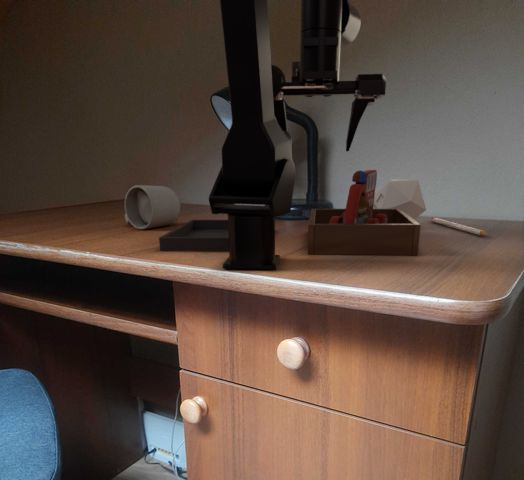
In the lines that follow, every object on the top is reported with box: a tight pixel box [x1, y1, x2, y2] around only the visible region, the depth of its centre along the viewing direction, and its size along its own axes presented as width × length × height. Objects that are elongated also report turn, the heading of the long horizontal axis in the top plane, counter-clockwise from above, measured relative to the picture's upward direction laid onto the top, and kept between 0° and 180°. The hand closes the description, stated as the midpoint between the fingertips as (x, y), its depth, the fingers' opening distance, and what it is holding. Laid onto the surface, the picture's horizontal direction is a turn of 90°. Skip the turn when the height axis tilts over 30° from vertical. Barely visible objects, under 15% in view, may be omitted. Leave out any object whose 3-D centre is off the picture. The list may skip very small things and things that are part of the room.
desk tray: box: [158, 219, 229, 252], centre depth 79 cm, size 19×13×2 cm
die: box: [373, 178, 427, 221], centre depth 88 cm, size 8×9×10 cm
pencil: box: [430, 217, 488, 236], centre depth 86 cm, size 1×19×1 cm, turn 8°
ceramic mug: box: [124, 184, 182, 231], centre depth 93 cm, size 11×8×8 cm
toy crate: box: [307, 208, 422, 256], centre depth 74 cm, size 19×15×4 cm
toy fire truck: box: [329, 169, 388, 224], centre depth 73 cm, size 7×12×10 cm, turn 155°
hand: (317, 151), depth 76 cm, fingers open, 9 cm apart
